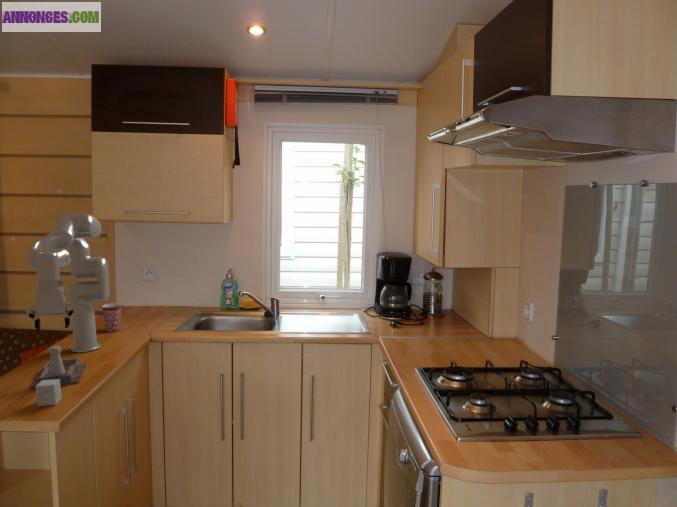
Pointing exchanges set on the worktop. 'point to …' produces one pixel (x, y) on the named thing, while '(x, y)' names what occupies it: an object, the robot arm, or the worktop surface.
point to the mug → (112, 317)
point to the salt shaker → (55, 362)
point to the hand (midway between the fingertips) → (53, 328)
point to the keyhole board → (75, 378)
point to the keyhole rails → (63, 378)
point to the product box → (48, 392)
